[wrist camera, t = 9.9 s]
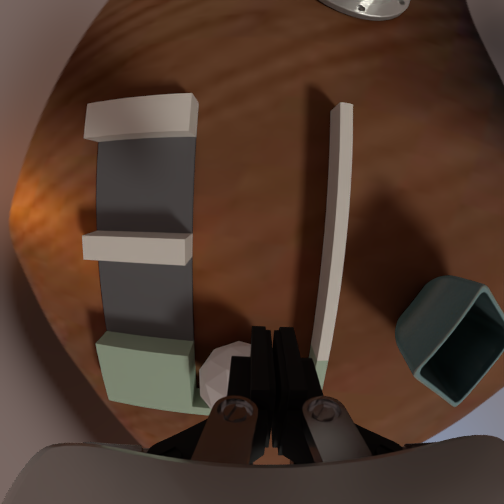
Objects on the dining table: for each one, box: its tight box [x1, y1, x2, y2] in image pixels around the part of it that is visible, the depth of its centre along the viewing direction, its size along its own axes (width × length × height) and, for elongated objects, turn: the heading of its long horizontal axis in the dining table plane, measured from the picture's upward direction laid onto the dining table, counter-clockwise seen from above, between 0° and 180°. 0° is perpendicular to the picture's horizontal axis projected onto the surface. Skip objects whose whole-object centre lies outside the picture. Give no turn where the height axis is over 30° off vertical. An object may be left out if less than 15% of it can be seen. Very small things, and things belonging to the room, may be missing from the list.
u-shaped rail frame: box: [82, 93, 353, 415], centre depth 24 cm, size 28×21×3 cm
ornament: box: [199, 341, 251, 409], centre depth 24 cm, size 7×7×8 cm
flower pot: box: [395, 275, 504, 407], centre depth 22 cm, size 9×9×9 cm
